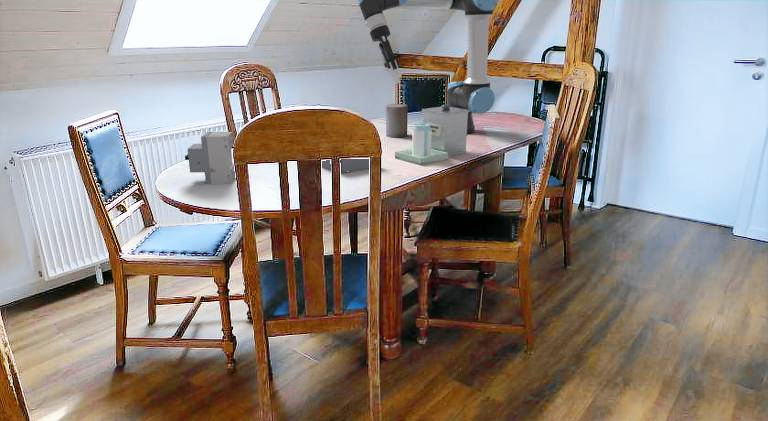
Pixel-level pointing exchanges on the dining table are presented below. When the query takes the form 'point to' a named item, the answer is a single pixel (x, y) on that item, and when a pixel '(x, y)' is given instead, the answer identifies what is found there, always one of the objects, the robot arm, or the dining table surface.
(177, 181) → the dining table surface
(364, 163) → the wheel bin
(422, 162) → the tray
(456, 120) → the box
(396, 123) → the pillar candle
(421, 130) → the can
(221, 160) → the circuit breaker
